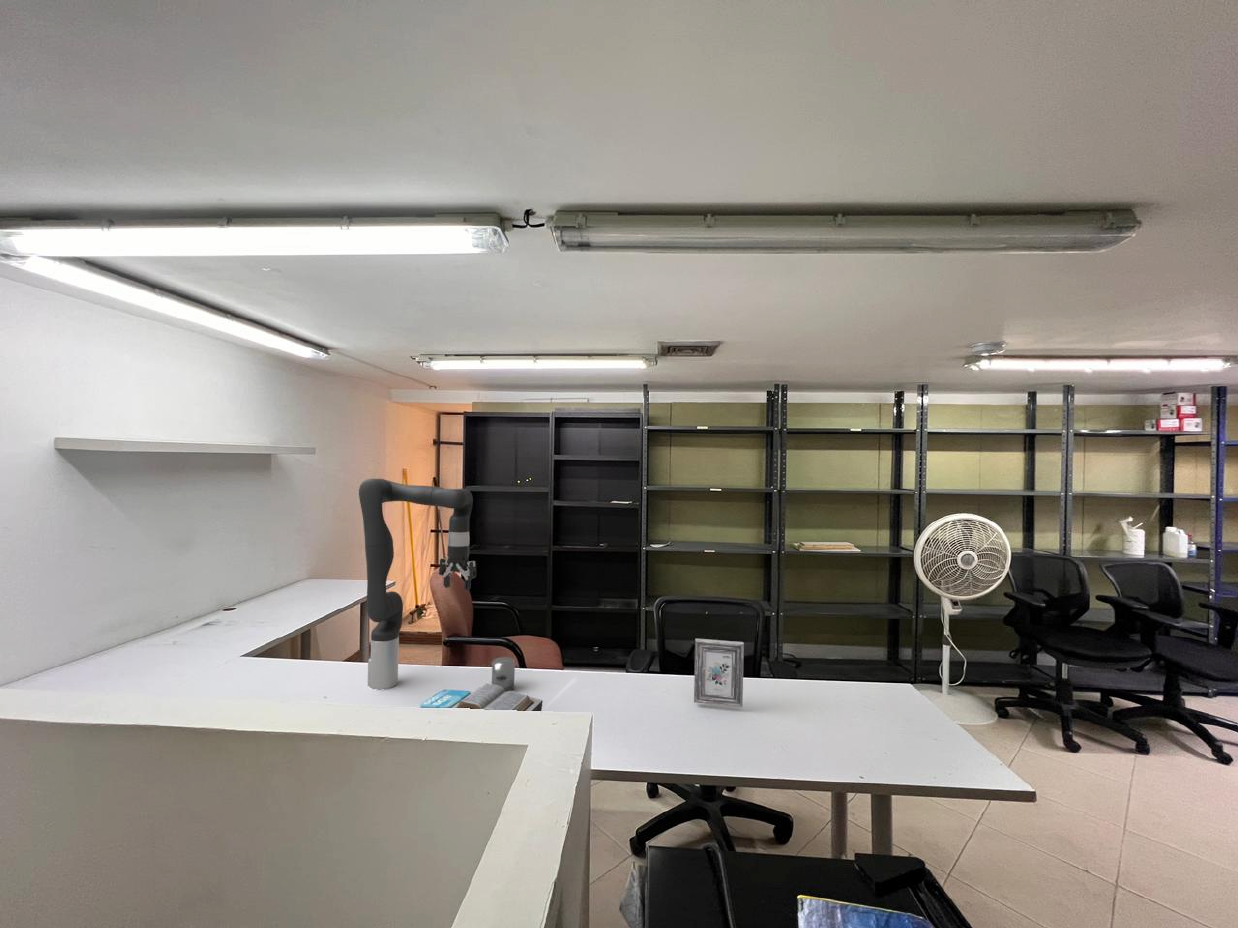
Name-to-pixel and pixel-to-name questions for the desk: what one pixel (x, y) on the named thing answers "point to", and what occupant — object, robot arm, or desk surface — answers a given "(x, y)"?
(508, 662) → the grey domed cylinder
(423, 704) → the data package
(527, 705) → the bible
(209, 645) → the desk surface
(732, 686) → the picture frame
